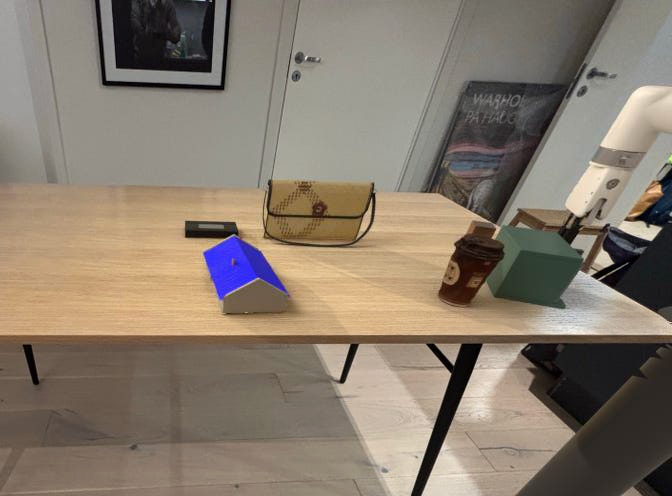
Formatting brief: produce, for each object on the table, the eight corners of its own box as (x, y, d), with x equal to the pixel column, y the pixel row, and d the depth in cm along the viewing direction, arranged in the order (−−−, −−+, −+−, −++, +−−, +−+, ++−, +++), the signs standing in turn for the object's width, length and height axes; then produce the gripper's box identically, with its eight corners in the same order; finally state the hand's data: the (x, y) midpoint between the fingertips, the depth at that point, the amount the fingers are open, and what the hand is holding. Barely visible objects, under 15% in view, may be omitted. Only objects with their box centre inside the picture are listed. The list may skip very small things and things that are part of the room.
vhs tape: (184, 227, 111) (185, 220, 109) (234, 228, 111) (235, 221, 110) (185, 237, 105) (185, 230, 103) (237, 238, 105) (238, 231, 104)
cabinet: (541, 277, 92) (569, 234, 86) (564, 309, 81) (599, 261, 74) (479, 267, 95) (502, 224, 89) (493, 296, 84) (521, 249, 77)
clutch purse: (259, 245, 102) (268, 184, 93) (255, 235, 108) (263, 177, 98) (370, 248, 103) (390, 188, 94) (360, 238, 109) (378, 180, 99)
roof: (202, 265, 91) (203, 234, 87) (259, 263, 93) (263, 233, 89) (218, 314, 74) (221, 279, 70) (288, 311, 76) (295, 277, 72)
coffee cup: (431, 303, 81) (460, 243, 72) (428, 286, 87) (455, 229, 79) (478, 313, 78) (514, 251, 70) (472, 295, 84) (505, 236, 76)
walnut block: (483, 240, 110) (492, 222, 107) (487, 246, 107) (496, 228, 103) (464, 237, 112) (472, 220, 108) (466, 243, 108) (475, 225, 105)
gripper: (657, 168, 74) (591, 259, 85) (621, 154, 85) (567, 236, 96) (610, 164, 76) (552, 253, 87) (581, 150, 87) (532, 231, 98)
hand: (560, 244), depth 92 cm, fingers closed
